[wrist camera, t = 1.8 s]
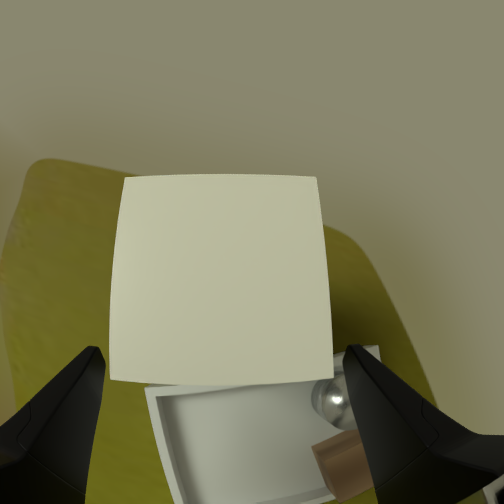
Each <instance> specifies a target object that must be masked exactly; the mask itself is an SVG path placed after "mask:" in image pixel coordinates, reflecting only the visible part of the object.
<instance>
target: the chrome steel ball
mask: <svg viewBox="0 0 504 504" xmlns="http://www.w3.org/2000/svg"><path fill="white" fill-rule="evenodd" d="M311 403H312V407H313V409H314V411H315V412H316V413H317V414H318V415H319V416H320V417H322V418H323V419H324V420H326V421H327V422H329V423H330V424H331V425H333V426H334V427H336V428H338V429H340V430H346V431H348V430H355V429H358V427H357V424H356V421H355V418H354V414H353V411H352V408H351V404H350V401H349V397H348V392H347V386H346V381H345V376H344V371H334V378H329V379H321V380H318V381H317V382H316V384H315V385H314V387H313V390H312V393H311Z"/></svg>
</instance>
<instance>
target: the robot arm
mask: <svg viewBox="0 0 504 504" xmlns="http://www.w3.org/2000/svg"><path fill="white" fill-rule="evenodd" d="M342 365H343V371H344V376H345V381H346V386H347V392H348V397H349V401H350V404H351V408H352V411H353V414H354V418H355V421H356V424H357V427H358V431H359V434H360V438H361V441H362V444H363V448H364V451H365V455H366V458H367V462H368V466H369V469H370V473H371V477H372V480H373V484H374V488H375V492H376V496H377V500H378V504H504V435H481V434H477V433H474V432H472V431H470V430H468V429H467V428H465V427H464V426H462V425H460V424H459V423H457V422H456V421H454V420H453V419H451V418H450V417H448V416H447V415H445V414H444V413H443V412H441V411H440V410H439V409H437V408H436V407H435V406H433V405H432V404H431V403H430V402H428V401H427V400H426V399H425V398H422V396H421V395H420V394H419V393H418V392H416V391H415V390H414V389H413V388H411V387H410V386H409V385H408V384H407V383H405V382H404V381H403V380H402V379H401V378H399V377H398V376H397V375H396V374H395V373H393V372H392V371H391V370H390V369H389V368H387V367H386V366H385V365H384V364H383V363H381V362H380V361H379V360H378V359H377V358H375V357H374V356H373V355H372V354H371V353H369V352H368V351H367V350H366V349H365V348H363V347H362V346H361V345H360V344H351V345H348V346H347V349H346V351H345V354H344V357H343V360H342ZM105 368H106V363H105V360H104V358H103V355H102V353H101V351H100V349H99V347H96V346H88V347H86V348H85V349H84V350H83V351H82V352H81V353H80V354H79V355H78V356H76V357H75V358H74V359H73V360H72V361H71V362H70V363H69V364H68V365H67V366H66V367H64V368H63V369H62V370H61V371H60V372H59V373H58V374H57V375H56V376H55V377H54V378H53V379H52V380H51V381H50V382H48V383H47V384H46V385H45V386H44V387H43V388H42V389H41V390H40V391H39V392H38V393H37V394H36V395H35V396H34V397H33V398H32V399H31V400H30V401H29V402H27V403H26V404H25V405H24V406H23V407H22V408H21V409H20V410H19V411H18V412H17V413H16V414H15V415H14V416H12V417H11V418H10V419H9V420H8V421H6V422H5V423H4V424H3V425H1V426H0V504H85V494H86V485H87V478H88V471H89V464H90V458H91V451H92V446H93V440H94V435H95V430H96V425H97V420H98V415H99V410H100V406H101V400H102V392H103V383H104V375H105Z"/></svg>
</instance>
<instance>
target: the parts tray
mask: <svg viewBox="0 0 504 504" xmlns="http://www.w3.org/2000/svg"><path fill="white" fill-rule="evenodd" d="M362 347H363V348H365V349H366V350H367V351H368V352H369V353H371V354H372V355H373V356H374V357H375V358H377V359H378V360H379V361H380V362H381V359H380V353H379V347H378V345H365V346H362ZM344 354H345V351H344V352H340V353H336V354H333V370H334V371H343V365H342V360H343V357H344ZM317 381H318V380H312V381H302V382H290V383H277V384H259V385H225V386H206V385H172V384H151V385H149V386H147V387H145V393H146V398H147V403H148V408H149V413H150V417H151V422H152V426H153V430H154V434H155V438H156V442H157V446H158V450H159V454H160V457H161V461H162V465H163V468H164V472H165V475H166V478H167V481H168V485H169V488H170V491H171V494H172V497H173V500H174V503H175V504H321V503H324V502H327V501H331V500H334V499H336V498H335V497H334V496H333V494H332V493H331V492H330V490H329V489H328V488H327V487H326V485H325V482H324V479H323V477H322V474H321V472H320V469H319V467H318V464H317V461H316V459H315V456H314V454H313V451H312V448H311V446H313V445H315V444H318V443H320V442H322V441H324V440H327V439H329V438H331V437H333V436H335V435H337V434H339V433H341V432H343V431H345V430H340V429H338V428H336V427H334V426H333V425H331V424H330V423H329V422H327V421H326V420H324V419H323V418H322V417H320V416H319V415H318V414H317V413H316V412H315V411H314V409H313V407H312V403H311V393H312V390H313V387H314V385H315V384H316V382H317Z"/></svg>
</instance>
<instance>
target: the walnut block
mask: <svg viewBox="0 0 504 504" xmlns="http://www.w3.org/2000/svg"><path fill="white" fill-rule="evenodd" d="M311 448H312V451H313V454H314V456H315V459H316V461H317V464H318V467H319V469H320V472H321V474H322V477H323V479H324V482H325V485H326V487H327V488H328V489H329V490H330V492H331V493H332V494H333V496H334V497H335V498H336V499H337V501H338V502H339V503H342V502H344V501H346V500H348V499H350V498H352V497H354V496H356V495H358V494H360V493H362V492H364V491H366V490H368V489H370V488H372V487H373V486H374V484H373V480H372V477H371V473H370V469H369V466H368V462H367V458H366V455H365V451H364V448H363V444H362V441H361V438H360V434H359V431H358V429H355V430H348V431H346V430H345V431H343V432H341V433H339V434H337V435H335V436H333V437H331V438H329V439H327V440H324V441H322V442H320V443H318V444H315V445H313V446H311Z"/></svg>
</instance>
